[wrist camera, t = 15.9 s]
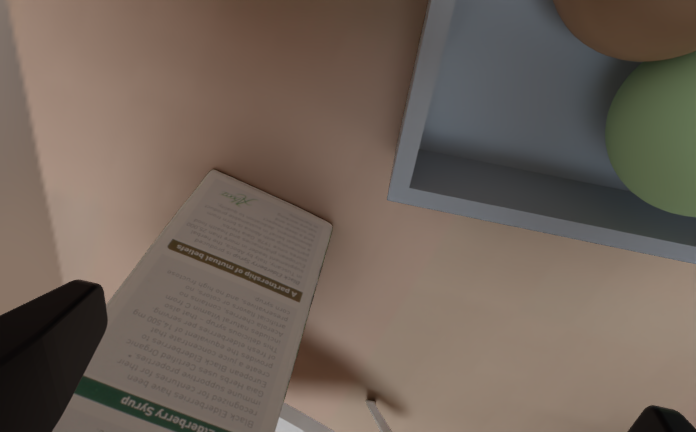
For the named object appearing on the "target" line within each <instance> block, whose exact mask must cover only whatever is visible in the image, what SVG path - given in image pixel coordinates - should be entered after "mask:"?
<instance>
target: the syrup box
mask: <svg viewBox="0 0 696 432" xmlns="http://www.w3.org/2000/svg"><path fill="white" fill-rule="evenodd" d="M332 229H333V227H332V225H331V224H330V223H328V222H327V221H325V220H323V219H321V218H319V217H317V216H315V215H313V214H311V213H309V212H307V211H305V210H303V209H301V208H299V207H296V206H294V205H292V204H290V203H288V202H286V201H283V200H281V199H279V198H277V197H275V196H272V195H270V194H268V193H266V192H264V191H261V190H259V189H257V188H255V187H252V186H250V185H248V184H246V183H243V182H241V181H239V180H237V179H235V178H233V177H230V176H228V175H226V174H223V173H221V172H218V171H217V170H213V169H212V170H211V171H210V172H209V173H208V174H207V175H206V176H205V178H204V179H203V180H202V182H201V183H200V184H199V186H198V187H197V188H196V189H195V191H194V192H193V193H192V194H191V195H190V197H189V198H188V199H187V200H186V201H185V203H184V204H183V205H182V206H181V208H180V209H179V210H178V211H177V213H176V214H175V215H174V217H173V218H172V219H171V221H170V222H169V223H168V224H167V226H166V227H165V228H164V230H163V231H162V232H161V234H160V235H159V236H158V238H157V239H156V240H155V241H154V243H153V244H152V245H151V246H150V248H149V249H148V250H147V252H146V253H145V254H144V256H143V257H142V258H141V260H140V261H139V262H138V264H137V265H136V266H135V268H134V269H133V270H132V272H131V273H130V274H129V276H128V277H127V278H126V280H125V281H124V282H123V283H122V285H121V286H120V287H119V289H118V290H117V291H116V293H115V294H114V295H113V297H112V298H111V299H110V300H109V302H108V303H107V304H106V310H107V316H108V324H107V328H106V331H105V334H104V336H103V338H102V340H101V341H100V343H99V345H98V347H97V349H96V351H95V353H94V355H93V357H92V359H91V361H90V363H89V365H88V367H87V369H86V371H85V373H84V375H83V377H82V379H81V381H80V382H79V384H78V386H77V388H76V390H75V392H74V394H73V396H72V398H71V400H70V402H69V404H68V406H67V407H66V409H65V411H64V413H63V415H62V416H61V418H60V420H59V421H58V423H57V425H56V426H55V428H54V429H53V431H52V432H275V430H276V427H277V423H278V420H279V416H280V413H281V409H282V406H283V403H284V399H285V396H286V392H287V389H288V385H289V382H290V378H291V374H292V371H293V368H294V364H295V360H296V357H297V354H298V350H299V346H300V343H301V340H302V336H303V332H304V329H305V325H306V322H307V318H308V315H309V311H310V307H311V304H312V300H313V297H314V293H315V289H316V286H317V283H318V280H319V276H320V273H321V269H322V266H323V262H324V258H325V255H326V251H327V248H328V244H329V241H330V237H331V233H332Z"/></svg>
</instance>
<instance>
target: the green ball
mask: <svg viewBox="0 0 696 432" xmlns="http://www.w3.org/2000/svg"><path fill="white" fill-rule="evenodd" d="M605 143H606V148H607V153H608V156H609V160H610V162H611V164H612V167H613V169H614V170H615V172H616V174H617V175H618V177H619V178H620V180H621V181H622V182H623V183H624V184H625V185H626V186H627V188H628V189H629V190H630V191H631V192H632V193H634V194H635V195H636V196H638V197H639V198H640V199H642V200H643V201H645V202H647V203H648V204H650V205H652V206H654V207H656V208H659V209H661V210H664V211H667V212H669V213H674V214H678V215H683V216H689V217H696V51H695V52H692V53H689V54H686V55H684V56H680V57H676V58H672V59H667V60H659V61H651V62H642V63H641V64H640V65H639V66H638V67H637V68H636V69H635V70H634V71H632V72H631V74H630V75H629V76H628V77H627V78H626V79H625V81H624V82H623V83H622V85H621V86H620V88H619V89H618V91H617V93H616V95H615V97H614V99H613V101H612V103H611V106H610V108H609V111H608V115H607V119H606V127H605Z"/></svg>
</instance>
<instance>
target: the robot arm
mask: <svg viewBox="0 0 696 432" xmlns="http://www.w3.org/2000/svg"><path fill="white" fill-rule="evenodd" d="M107 324H108V316H107V310H106V303H105V297H104V291H103V288H102V287H101V285H99V284H97V283H93V282H88V281H84V280H74V281H71V282H69V283H67V284H65V285H62V286H60V287H58V288H56V289H54V290H52V291H50V292H48V293H46V294H44V295H42V296H40V297H38V298H36V299H34V300H32V301H29V302H27V303H26V304H23V305H21V306H19V307H17V308H15V309H13V310H11V311H9V312H7V313H5V314H2V315H0V432H52V431H53V429H54V428H55V426H56V425H57V423H58V421H59V420H60V418H61V416H62V415H63V413H64V411H65V409H66V407H67V406H68V404H69V402H70V400H71V398H72V396H73V394H74V392H75V390H76V388H77V386H78V384H79V382H80V381H81V379H82V377H83V375H84V373H85V371H86V369H87V367H88V365H89V363H90V361H91V359H92V357H93V355H94V353H95V351H96V349H97V347H98V345H99V343H100V341H101V340H102V338H103V336H104V334H105V331H106V328H107ZM628 432H696V429H695V428H694V427H693V426H692V424H691V423H690V422H689V421H688V420H687V419H686V418H685V417H684V416H683V415H682V414H680V413H679V412H678V411H675V410H672V409H668V408H663V407H659V406H654V405H651V406H649V407H646V408H645V409H644V410H643V412H642V413H641V414H640V416H639V417H638V418H637V420H636V421H635V422H634V424H633V425H632V426H631V428H630V429H629V430H628Z"/></svg>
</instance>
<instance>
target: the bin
mask: <svg viewBox="0 0 696 432" xmlns="http://www.w3.org/2000/svg"><path fill="white" fill-rule="evenodd" d="M641 63H642V62H635V61H626V60H621V59H617V58H613V57H609V56H606V55H604V54H601V53H599V52H596V51H595V50H593V49H592V48H590V47H588V46H587V45H585V44H584V43H582V42H581V41H580V40H579V39H577V38H576V37H575V36H574V35H573V34H572V33H571V32H570V30H569V29H568V28H567V27H566V26H565V24H564V22H563V21H562V19H561V17H560V16H559V14H558V12H557V10H556V8H555V5H554V3H553V0H429V1H428V6H427V10H426V15H425V19H424V24H423V28H422V33H421V37H420V42H419V46H418V51H417V55H416V60H415V65H414V69H413V74H412V78H411V83H410V87H409V92H408V96H407V101H406V105H405V110H404V114H403V119H402V123H401V128H400V132H399V137H398V142H397V146H396V151H395V156H394V161H393V167H392V173H391V179H390V185H389V191H388V196H387V200H388V201H393V202H398V203H403V204H408V205H412V206H417V207H422V208H427V209H432V210H437V211H442V212H446V213H451V214H456V215H461V216H466V217H471V218H475V219H480V220H485V221H490V222H495V223H500V224H504V225H509V226H514V227H519V228H524V229H529V230H533V231H538V232H543V233H548V234H553V235H558V236H562V237H567V238H572V239H577V240H582V241H587V242H591V243H596V244H601V245H606V246H611V247H616V248H620V249H625V250H630V251H635V252H640V253H645V254H649V255H654V256H659V257H664V258H669V259H674V260H678V261H683V262H688V263H693V264H696V217H689V216H683V215H678V214H674V213H669V212H667V211H664V210H661V209H659V208H656V207H654V206H652V205H650V204H648V203H647V202H645V201H643V200H642V199H640V198H639V197H638V196H636V195H635V194H634V193H632V192H631V191H630V190H629V189H628V188H627V186H626V185H625V184H624V183H623V182H622V181H621V180H620V178H619V177H618V175H617V174H616V172H615V170H614V169H613V167H612V164H611V162H610V160H609V156H608V153H607V148H606V143H605V127H606V119H607V115H608V111H609V108H610V106H611V103H612V101H613V99H614V97H615V95H616V93H617V91H618V89H619V88H620V86H621V85H622V83H623V82H624V81H625V79H626V78H627V77H628V76H629V75H630V74H631V72H632V71H634V70H635V69H636V68H637V67H638V66H639V65H640V64H641Z"/></svg>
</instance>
